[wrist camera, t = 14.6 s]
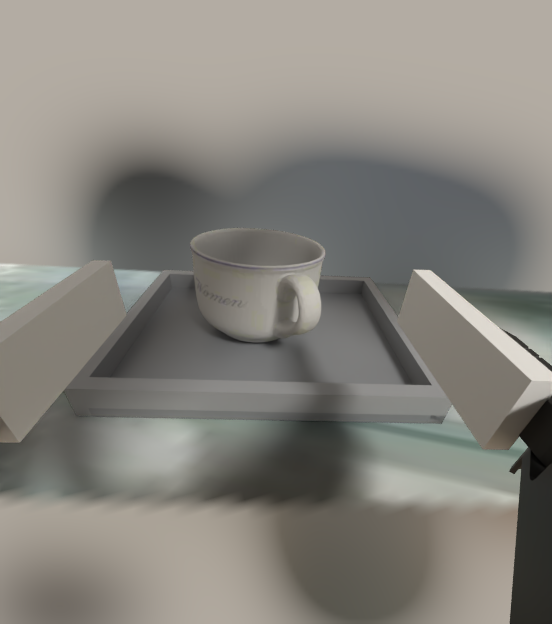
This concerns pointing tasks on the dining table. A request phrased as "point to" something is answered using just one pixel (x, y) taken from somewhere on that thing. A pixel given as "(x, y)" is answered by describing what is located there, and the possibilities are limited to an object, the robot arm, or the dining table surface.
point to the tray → (259, 364)
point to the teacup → (257, 282)
